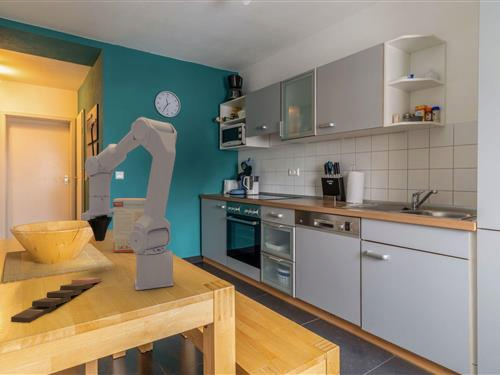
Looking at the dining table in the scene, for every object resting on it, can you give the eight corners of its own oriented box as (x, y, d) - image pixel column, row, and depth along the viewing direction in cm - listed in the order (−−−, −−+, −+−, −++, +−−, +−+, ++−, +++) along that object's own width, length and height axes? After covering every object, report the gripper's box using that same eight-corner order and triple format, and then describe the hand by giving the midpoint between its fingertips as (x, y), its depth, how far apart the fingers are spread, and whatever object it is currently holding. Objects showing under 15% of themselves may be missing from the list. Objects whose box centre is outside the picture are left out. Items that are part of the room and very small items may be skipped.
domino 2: (54, 295, 71) (32, 301, 64) (71, 295, 71) (51, 301, 64) (53, 299, 71) (31, 306, 64) (70, 300, 71) (50, 306, 64)
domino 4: (78, 282, 80) (60, 285, 73) (92, 283, 80) (76, 286, 73) (77, 286, 80) (59, 290, 73) (92, 287, 80) (75, 290, 73)
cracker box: (153, 250, 122) (154, 198, 122) (147, 253, 116) (147, 199, 116) (120, 249, 123) (120, 197, 123) (112, 252, 117) (112, 198, 117)
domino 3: (66, 288, 75) (47, 292, 68) (82, 289, 75) (64, 292, 68) (65, 293, 75) (46, 297, 68) (81, 293, 75) (63, 297, 68)
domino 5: (88, 277, 85) (71, 279, 78) (101, 277, 84) (86, 280, 77) (87, 281, 84) (71, 283, 78) (101, 281, 84) (86, 284, 77)
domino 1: (39, 303, 67) (11, 316, 60) (55, 304, 67) (29, 318, 60) (39, 307, 67) (11, 322, 60) (55, 308, 67) (29, 323, 60)
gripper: (101, 195, 100) (101, 236, 101) (71, 197, 86) (71, 245, 86) (121, 195, 100) (121, 236, 100) (94, 197, 85) (94, 246, 86)
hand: (99, 240), depth 93 cm, fingers closed
